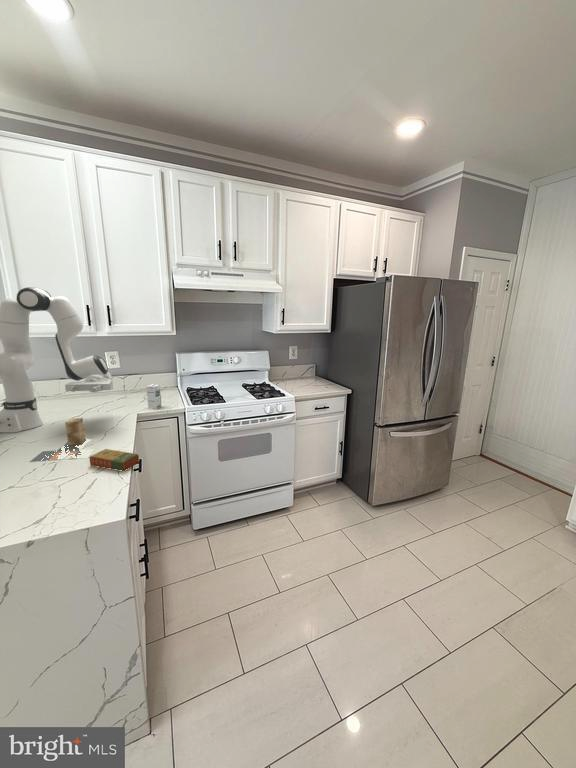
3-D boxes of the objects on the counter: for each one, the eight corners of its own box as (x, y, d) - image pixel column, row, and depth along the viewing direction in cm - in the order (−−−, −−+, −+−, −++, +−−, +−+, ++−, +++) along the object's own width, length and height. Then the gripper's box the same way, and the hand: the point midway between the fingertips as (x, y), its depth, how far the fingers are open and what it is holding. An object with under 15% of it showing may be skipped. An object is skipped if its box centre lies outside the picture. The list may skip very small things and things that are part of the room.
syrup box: (156, 409, 195) (154, 386, 192) (147, 408, 196) (145, 385, 193) (161, 406, 200) (160, 384, 197) (153, 406, 202) (151, 383, 198)
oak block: (68, 445, 140) (65, 422, 138) (73, 441, 145) (70, 418, 142) (81, 445, 141) (77, 421, 139) (85, 440, 146) (82, 418, 143)
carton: (107, 457, 131) (106, 448, 130) (139, 463, 127) (139, 453, 126) (89, 466, 123) (88, 456, 122) (124, 472, 119) (123, 462, 118)
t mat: (29, 462, 125) (29, 461, 125) (57, 439, 147) (57, 439, 147) (87, 458, 129) (87, 457, 129) (107, 437, 151) (107, 436, 151)
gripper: (71, 377, 161) (58, 383, 148) (114, 377, 165) (105, 382, 152) (73, 389, 163) (59, 396, 149) (116, 388, 167) (107, 395, 153)
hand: (83, 389), depth 151 cm, fingers open, 8 cm apart
